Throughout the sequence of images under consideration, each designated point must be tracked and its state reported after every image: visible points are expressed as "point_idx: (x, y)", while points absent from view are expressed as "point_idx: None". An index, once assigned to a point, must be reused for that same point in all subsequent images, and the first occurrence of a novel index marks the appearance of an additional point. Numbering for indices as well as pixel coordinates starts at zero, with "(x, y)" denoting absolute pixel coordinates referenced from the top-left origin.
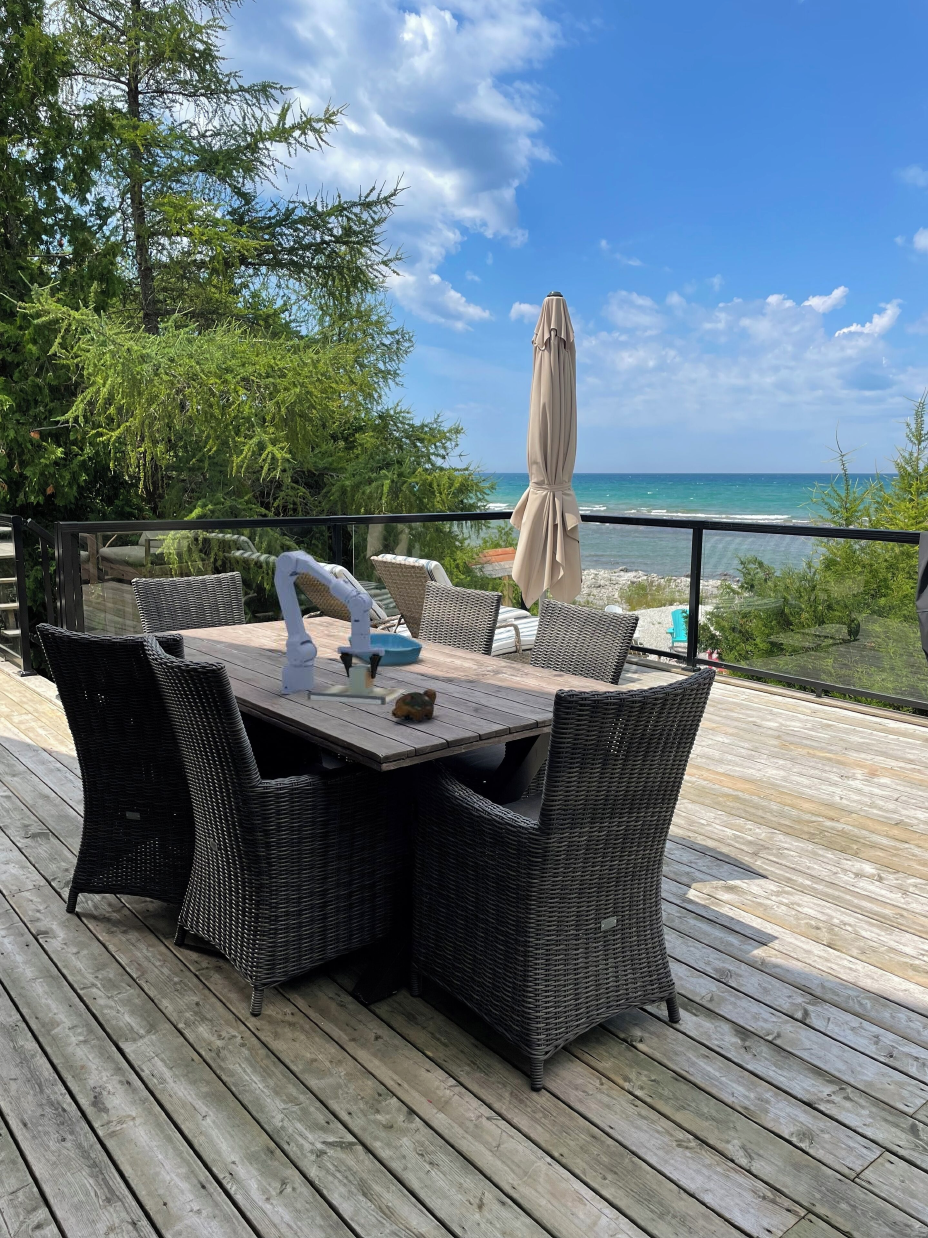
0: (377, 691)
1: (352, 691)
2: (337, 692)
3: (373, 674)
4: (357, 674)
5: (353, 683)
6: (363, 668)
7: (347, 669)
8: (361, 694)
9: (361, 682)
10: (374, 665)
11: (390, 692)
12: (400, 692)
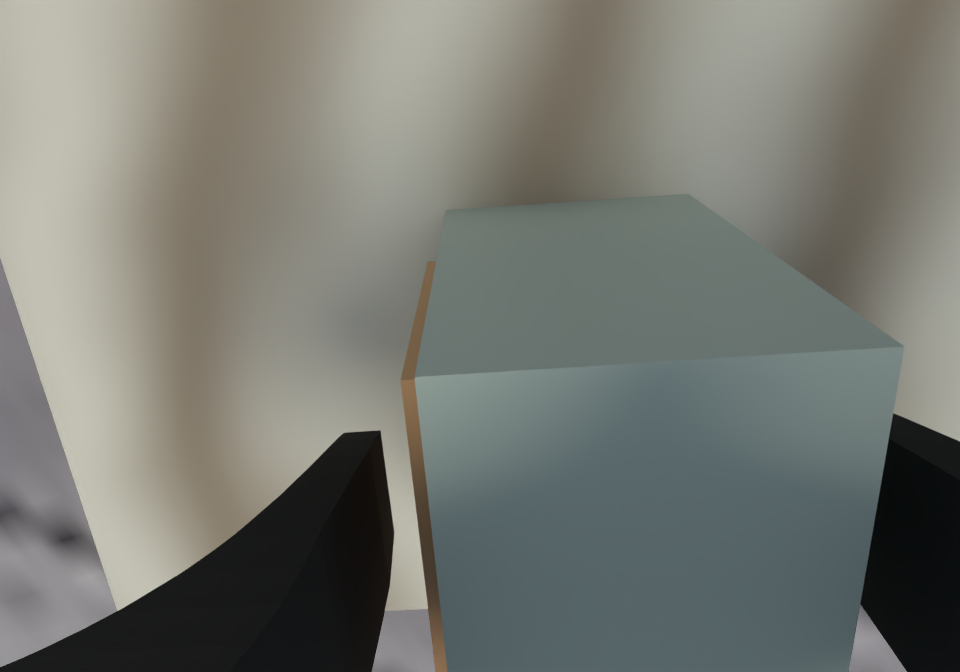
0: (394, 463)
1: (652, 207)
2: (900, 247)
3: (305, 472)
4: (612, 307)
5: (663, 239)
6: (502, 470)
7: (955, 466)
8: (501, 210)
9: (504, 259)
10: (168, 583)
11: (214, 466)
12: (104, 504)
